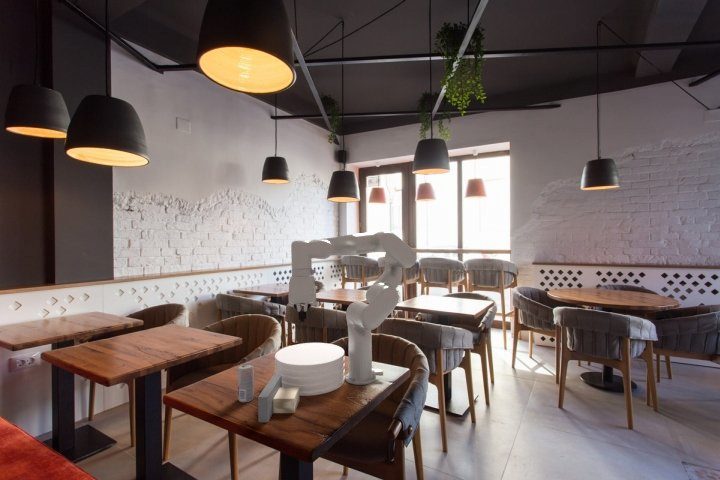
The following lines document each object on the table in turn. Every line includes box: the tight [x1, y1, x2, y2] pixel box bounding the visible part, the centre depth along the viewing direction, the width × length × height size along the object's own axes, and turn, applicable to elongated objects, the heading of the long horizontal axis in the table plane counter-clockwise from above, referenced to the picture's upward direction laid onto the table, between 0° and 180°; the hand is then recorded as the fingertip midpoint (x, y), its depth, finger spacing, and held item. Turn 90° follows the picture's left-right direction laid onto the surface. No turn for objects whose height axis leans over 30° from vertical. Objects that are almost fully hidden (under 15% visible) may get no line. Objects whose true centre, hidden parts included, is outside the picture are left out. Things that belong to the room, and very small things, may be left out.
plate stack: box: [274, 342, 346, 397], centre depth 144 cm, size 28×28×12 cm
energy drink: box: [237, 363, 255, 403], centre depth 128 cm, size 5×5×12 cm
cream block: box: [273, 387, 300, 414], centre depth 122 cm, size 7×9×5 cm
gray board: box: [257, 374, 282, 423], centre depth 121 cm, size 3×18×8 cm, turn 179°
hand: (302, 321), depth 134 cm, fingers closed
